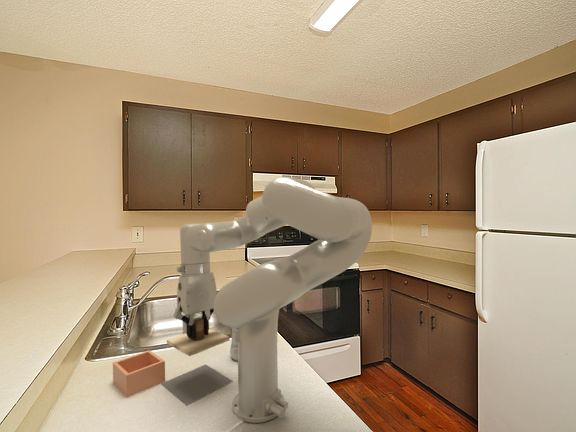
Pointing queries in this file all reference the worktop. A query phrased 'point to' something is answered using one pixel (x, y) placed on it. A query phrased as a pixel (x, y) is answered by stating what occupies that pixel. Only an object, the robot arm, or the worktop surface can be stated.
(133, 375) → the pink open storage bin
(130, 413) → the worktop surface
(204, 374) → the mat
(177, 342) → the lid
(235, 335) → the plastic bottle
